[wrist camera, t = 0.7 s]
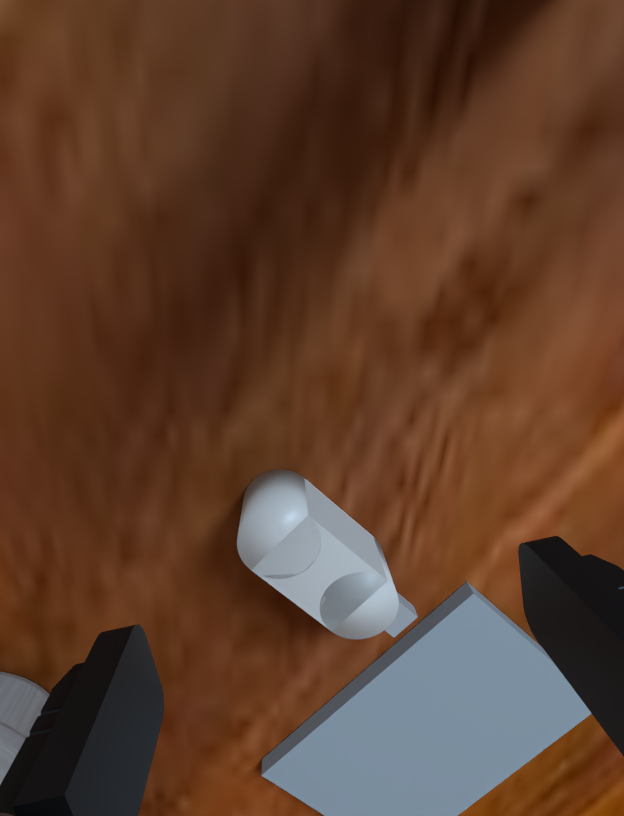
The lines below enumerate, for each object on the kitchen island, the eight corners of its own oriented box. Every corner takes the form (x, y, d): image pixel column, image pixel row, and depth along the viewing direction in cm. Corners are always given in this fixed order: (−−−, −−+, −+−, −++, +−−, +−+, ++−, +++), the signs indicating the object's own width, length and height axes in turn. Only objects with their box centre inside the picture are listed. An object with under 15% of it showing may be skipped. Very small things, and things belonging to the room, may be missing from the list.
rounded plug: (277, 455, 30) (276, 488, 25) (420, 576, 33) (441, 624, 28) (228, 504, 30) (219, 546, 26) (372, 618, 33) (385, 672, 29)
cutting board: (466, 581, 33) (473, 593, 32) (592, 691, 36) (602, 705, 35) (261, 759, 36) (261, 775, 35) (393, 843, 40) (397, 861, 38)
